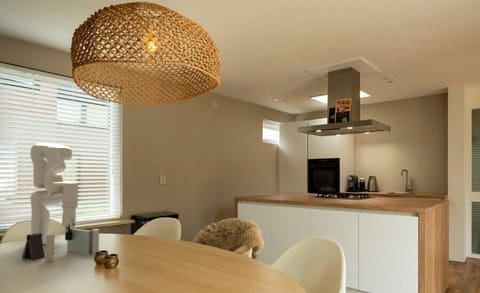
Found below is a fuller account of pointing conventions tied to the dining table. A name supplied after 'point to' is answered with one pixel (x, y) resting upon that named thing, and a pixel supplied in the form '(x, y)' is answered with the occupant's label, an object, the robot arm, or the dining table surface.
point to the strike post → (50, 247)
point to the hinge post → (95, 241)
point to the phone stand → (33, 247)
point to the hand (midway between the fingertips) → (68, 239)
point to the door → (80, 242)
